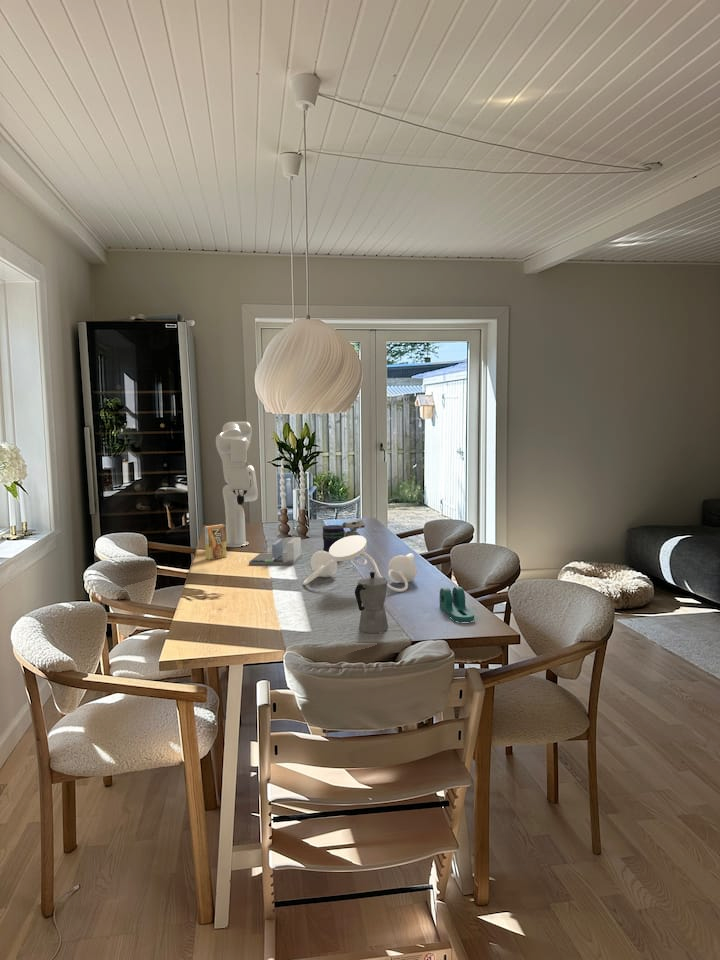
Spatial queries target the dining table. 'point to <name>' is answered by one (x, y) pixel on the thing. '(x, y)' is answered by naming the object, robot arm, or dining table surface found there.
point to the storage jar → (332, 535)
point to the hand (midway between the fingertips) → (240, 504)
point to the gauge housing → (285, 558)
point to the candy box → (215, 541)
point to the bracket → (455, 604)
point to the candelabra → (351, 548)
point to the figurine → (353, 527)
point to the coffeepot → (372, 604)
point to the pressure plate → (277, 549)
